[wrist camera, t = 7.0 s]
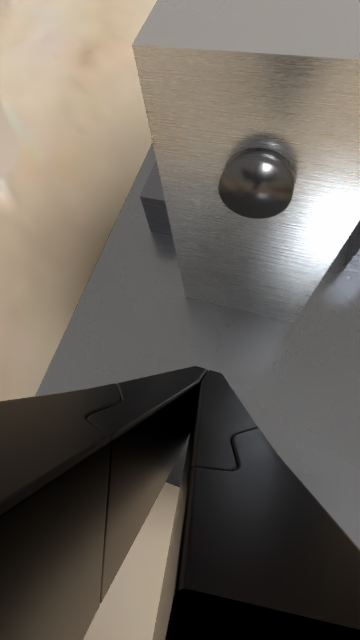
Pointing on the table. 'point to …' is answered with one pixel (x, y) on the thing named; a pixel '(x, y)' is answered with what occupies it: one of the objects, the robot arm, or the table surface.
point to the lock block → (255, 142)
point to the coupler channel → (226, 348)
